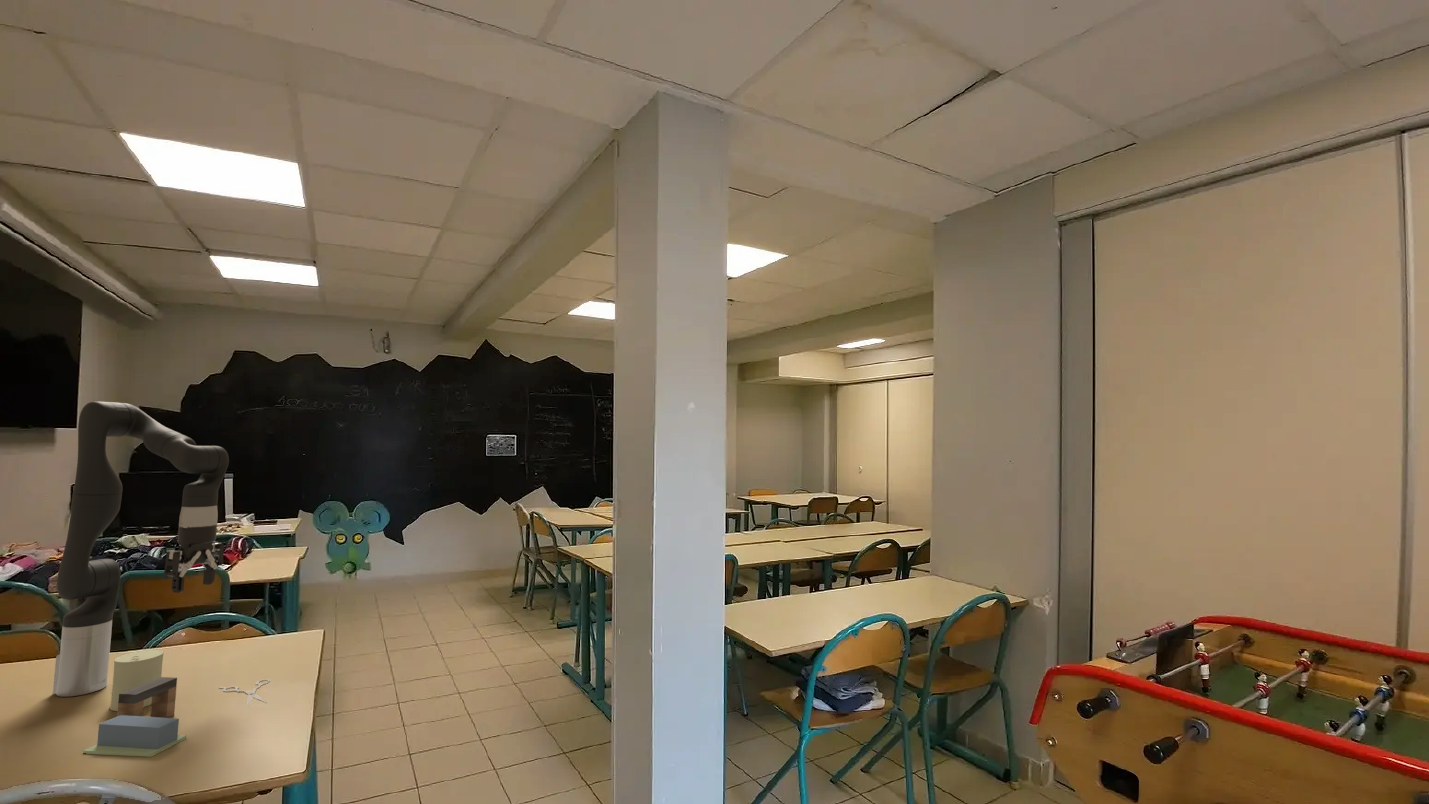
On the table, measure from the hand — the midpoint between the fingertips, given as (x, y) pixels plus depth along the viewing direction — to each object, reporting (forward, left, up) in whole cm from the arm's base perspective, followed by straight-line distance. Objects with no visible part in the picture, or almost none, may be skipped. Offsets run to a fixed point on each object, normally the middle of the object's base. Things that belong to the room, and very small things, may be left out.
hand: (193, 588), depth 156 cm
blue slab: (+10, -22, -27) cm, 36 cm away
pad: (+10, -22, -28) cm, 37 cm away
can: (-11, -2, -28) cm, 30 cm away
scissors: (+12, +6, -29) cm, 32 cm away
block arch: (+2, -12, -28) cm, 30 cm away
